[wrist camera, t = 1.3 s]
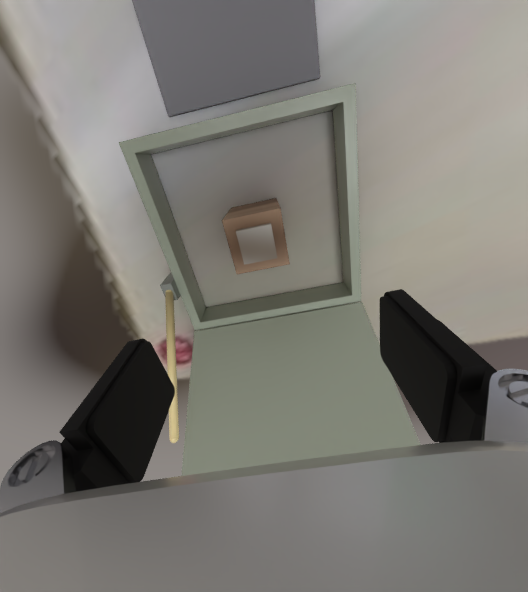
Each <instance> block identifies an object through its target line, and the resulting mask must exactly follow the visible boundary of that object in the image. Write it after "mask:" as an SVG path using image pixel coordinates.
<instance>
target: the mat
mask: <svg viewBox="0 0 528 592" xmlns="http://www.w3.org/2000/svg"><path fill="white" fill-rule="evenodd" d="M132 2H133V5H134V8H135V11H136V14H137V18H138V21H139V24H140V27H141V30H142V33H143V37H144V40H145V43H146V46H147V49H148V53H149V56H150V59H151V62H152V65H153V69H154V72H155V75H156V78H157V81H158V85H159V88H160V91H161V94H162V97H163V100H164V104H165V107H166V110H167V113H168V116H169V117H172V116H176V115H180V114H183V113H187V112H191V111H195V110H199V109H203V108H207V107H211V106H215V105H219V104H223V103H227V102H230V101H234V100H238V99H242V98H246V97H250V96H254V95H258V94H262V93H266V92H270V91H273V90H277V89H281V88H285V87H289V86H293V85H297V84H301V83H305V82H309V81H313V80H316V79H319V78H320V68H319V55H318V42H317V29H316V16H315V3H314V0H132Z"/></svg>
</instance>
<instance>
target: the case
mask: <svg viewBox="0 0 528 592" xmlns="http://www.w3.org/2000/svg"><path fill="white" fill-rule="evenodd" d="M331 110H333V123H334V139H335V155H336V171H337V188H338V204H339V220H340V236H341V252H342V269H343V283H338V284H333V285H327V286H322V287H316V288H311V289H305V290H300V291H294V292H289V293H283V294H278V295H273V296H267V297H262V298H256V299H251V300H245V301H240V302H234V303H229V304H223V305H218V306H213V307H207V308H206V306H205V303H204V301H203V298H202V295H201V292H200V290H199V287H198V284H197V281H196V279H195V276H194V273H193V270H192V267H191V265H190V262H189V259H188V256H187V254H186V251H185V248H184V245H183V243H182V240H181V237H180V234H179V232H178V229H177V226H176V223H175V220H174V218H173V215H172V212H171V209H170V207H169V204H168V201H167V198H166V196H165V193H164V190H163V187H162V185H161V182H160V179H159V176H158V173H157V171H156V168H155V165H154V162H153V160H152V157H151V154H154V153H158V152H162V151H167V150H171V149H175V148H179V147H183V146H187V145H191V144H195V143H199V142H203V141H208V140H212V139H216V138H220V137H224V136H228V135H232V134H236V133H240V132H244V131H249V130H253V129H257V128H261V127H265V126H269V125H273V124H277V123H281V122H285V121H290V120H294V119H298V118H302V117H306V116H310V115H314V114H318V113H322V112H327V111H331ZM119 145H120V147H121V149H122V152H123V154H124V157H125V159H126V162H127V164H128V167H129V169H130V172H131V174H132V177H133V179H134V181H135V184H136V186H137V189H138V191H139V194H140V196H141V199H142V201H143V204H144V206H145V209H146V211H147V214H148V216H149V218H150V221H151V223H152V226H153V228H154V231H155V233H156V236H157V238H158V241H159V243H160V246H161V248H162V250H163V253H164V255H165V258H166V260H167V263H168V265H169V268H170V270H171V273H170V274H169V275H168V277H167V278H166V279H165V280H164V281H163V283H162V284H161V285H160V286H161V289H162V291H163V293H164V295H165V298H166V332H167V366H168V376H169V378H170V380H171V382H172V384H173V385H174V388H175V395H174V398H173V401H172V403H171V406H170V408H169V433H170V441H171V442H172V443H175V442H177V441H178V439H179V425H178V400H177V374H176V349H175V323H174V300H178V298H179V297H180V295H181V297H182V300H183V302H184V305H185V307H186V310H187V312H188V315H189V317H190V319H191V322H192V324H193V327H194V329H195V332H194V341H193V353H192V364H191V375H190V387H189V398H188V409H187V420H186V431H185V442H184V453H183V466H182V476H185V475H192V474H200V473H207V472H214V471H222V470H229V469H236V468H244V467H251V466H259V465H266V464H274V463H281V462H288V461H296V460H304V459H311V458H319V457H327V456H335V455H342V454H350V453H358V452H366V451H373V450H381V449H390V448H399V447H408V446H417V445H420V442H419V440H418V438H417V435H416V433H415V430H414V428H413V425H412V423H411V420H410V418H409V416H408V413H407V411H406V408H405V406H404V403H403V401H402V398H401V396H400V394H399V391H398V389H397V386H396V384H395V381H394V379H393V376H392V375H391V373H390V371H389V370H388V368H387V367H386V365H385V363H384V362H383V360H382V358H381V354H380V345H379V342H378V340H377V337H376V335H375V332H374V330H373V328H372V325H371V323H370V320H369V318H368V315H367V313H366V310H365V308H364V306H363V303H362V302H361V269H360V231H359V192H358V153H357V115H356V83H354V84H350V85H346V86H342V87H338V88H334V89H330V90H326V91H322V92H318V93H314V94H310V95H306V96H302V97H298V98H294V99H290V100H286V101H282V102H278V103H274V104H270V105H266V106H262V107H258V108H254V109H250V110H246V111H242V112H238V113H234V114H230V115H226V116H222V117H218V118H214V119H210V120H206V121H202V122H198V123H194V124H190V125H186V126H182V127H178V128H175V129H171V130H167V131H163V132H159V133H155V134H151V135H147V136H143V137H139V138H135V139H131V140H127V141H123V142H119ZM355 302H360V303H355ZM349 303H354V304H349ZM344 304H349V305H344ZM338 305H343V306H338ZM332 306H337V307H332ZM327 307H332V308H327ZM321 308H326V309H321ZM315 309H320V310H315ZM310 310H314V311H310ZM304 311H309V312H304ZM298 312H303V313H298ZM292 313H297V314H292ZM287 314H292V315H287ZM281 315H286V316H281ZM275 316H280V317H275ZM270 317H275V318H270ZM264 318H269V319H264ZM258 319H263V320H258ZM253 320H257V321H253ZM247 321H252V322H247ZM241 322H246V323H241ZM236 323H240V324H236ZM230 324H235V325H230ZM224 325H229V326H224ZM218 326H223V327H218ZM213 327H218V328H213ZM207 328H212V329H207ZM201 329H206V330H201ZM196 330H200V331H196Z"/></svg>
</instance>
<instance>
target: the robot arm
mask: <svg viewBox="0 0 528 592" xmlns="http://www.w3.org/2000/svg"><path fill="white" fill-rule="evenodd" d="M380 354H381V358H382V360H383V362H384V363H385V365H386V367H387V368H388V370H389V371H390V373H391V375H392V376H393V378H394V379H395V381H396V383H397V384H398V386H399V387H400V389H401V391H402V392H403V394H404V395H405V397H406V399H407V400H408V402H409V403H410V405H411V407H412V408H413V410H414V411H415V413H416V415H417V416H418V418H419V420H420V421H421V423H422V424H423V426H424V428H425V429H426V431H427V433H428V434H429V436H430V437H431V439H432V440H433V441H434V442H439V443H435V444H426V445H417V446H408V447H399V448H390V449H381V450H373V451H366V452H358V453H350V454H342V455H335V456H327V457H319V458H311V459H304V460H296V461H288V462H281V463H274V464H266V465H259V466H251V467H244V468H236V469H229V470H222V471H214V472H207V473H200V474H192V475H185V476H178V477H171V478H165V479H158V480H150V481H143V482H140V481H141V480H142V479H143V477H144V474H145V472H146V469H147V466H148V464H149V461H150V459H151V456H152V453H153V451H154V448H155V445H156V443H157V440H158V438H159V435H160V432H161V429H162V427H163V424H164V421H165V419H166V416H167V414H168V411H169V408H170V406H171V403H172V401H173V398H174V395H175V388H174V385H173V384H172V382H171V380H170V378H169V376H168V374H167V372H166V370H165V369H164V367H163V365H162V363H161V361H160V359H159V357H158V356H157V354H156V352H155V350H154V348H153V346H152V344H151V343H150V342H148V341H146V340H145V339H139V340H133V341H129V342H128V343H127V344H126V345H125V346H124V348H123V349H122V350H121V352H120V353H119V354H118V356H117V357H116V358H115V360H114V361H113V362H112V364H111V365H110V366H109V367H108V369H107V370H106V371H105V373H104V374H103V376H102V377H101V378H100V379H99V381H98V382H97V383H96V385H95V386H94V388H93V389H92V390H91V391H90V393H89V394H88V395H87V397H86V398H85V399H84V400H83V402H82V403H81V404H80V406H79V407H78V409H77V410H76V411H75V412H74V414H73V415H72V416H71V418H70V419H69V420H68V422H67V423H66V424H65V426H64V427H63V428H62V430H61V431H60V433H61V434H62V435H63V437H65V439H64V440H63V442H62V443H60V442H58V441H56V440H53V441H48V442H45V443H42V444H40V445H38V446H36V447H34V448H33V449H31V450H30V451H28V452H27V453H26V454H25V455H23V456H22V457H21V458H20V459H19V460H18V461H16V463H15V464H14V465H13V466H12V467H11V468H10V469H9V470H8V472H7V474H6V475H5V477H4V478H3V481H2V483H1V487H0V592H528V371H526V370H520V369H505V370H500V371H496V370H495V369H494V368H493V367H492V366H491V365H490V364H489V363H487V362H486V361H485V360H484V359H483V358H482V357H480V356H479V355H478V354H477V353H476V352H475V351H474V350H473V349H471V348H470V347H469V346H468V345H467V344H466V343H464V342H463V341H462V340H461V339H460V338H459V337H458V336H456V335H455V334H454V333H453V332H452V331H451V330H450V329H448V328H447V327H446V326H445V325H444V324H443V323H442V322H440V321H439V320H437V319H435V318H434V317H433V316H432V315H431V314H430V313H429V312H428V311H426V310H425V309H424V308H423V307H422V306H421V305H420V304H418V303H417V302H416V301H415V300H414V299H413V298H412V297H411V296H409V295H408V294H407V293H406V292H405V291H404V290H402V289H400V290H395V291H390V292H386V293H385V294H384V297H381V298H380Z"/></svg>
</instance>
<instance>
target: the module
mask: <svg viewBox="0 0 528 592" xmlns="http://www.w3.org/2000/svg"><path fill="white" fill-rule="evenodd" d="M222 222H223V226H224V230H225V233H226V237H227V241H228V244H229V248H230V251H231V255H232V259H233V262H234V266H235V270H236V273H237V274H241V273H246V272H251V271H257V270H262V269H267V268H272V267H277V266H283V265H288V264H290V263H289V257H288V251H287V245H286V239H285V233H284V227H283V221H282V215H281V209H280V206H279V203H278V201H277V199H276V198H274V199H269V200H265V201H260V202H256V203H251V204H246V205H242V206H237V207H233V208H231V209H230V210H229V212H228V213H227V214H226V216H225V217H224V219H223V220H222Z"/></svg>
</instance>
